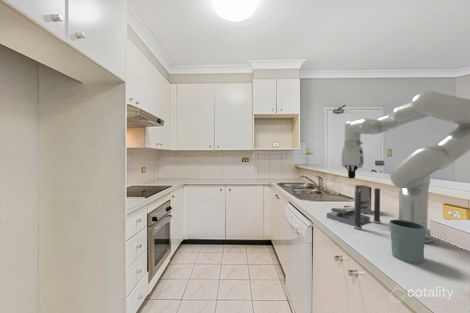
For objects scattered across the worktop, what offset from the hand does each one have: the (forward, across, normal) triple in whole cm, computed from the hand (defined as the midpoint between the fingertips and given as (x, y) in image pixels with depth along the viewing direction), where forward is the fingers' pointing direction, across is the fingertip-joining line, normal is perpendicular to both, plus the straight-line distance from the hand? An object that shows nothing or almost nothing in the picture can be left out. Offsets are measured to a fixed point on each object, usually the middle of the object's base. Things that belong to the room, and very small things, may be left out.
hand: (351, 178), depth 115 cm
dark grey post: (+23, -9, -8) cm, 26 cm away
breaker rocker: (+18, +3, 0) cm, 18 cm away
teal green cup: (+23, -34, +22) cm, 47 cm away
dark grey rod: (+23, -9, +9) cm, 26 cm away
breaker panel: (+23, +2, 0) cm, 23 cm away
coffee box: (+23, +7, -23) cm, 34 cm away
